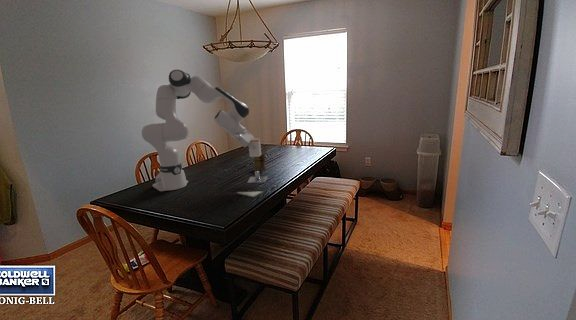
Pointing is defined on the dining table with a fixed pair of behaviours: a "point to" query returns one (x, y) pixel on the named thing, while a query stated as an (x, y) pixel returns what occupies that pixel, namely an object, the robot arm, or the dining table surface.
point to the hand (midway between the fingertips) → (255, 147)
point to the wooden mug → (260, 160)
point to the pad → (250, 193)
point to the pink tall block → (257, 150)
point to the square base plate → (257, 178)
